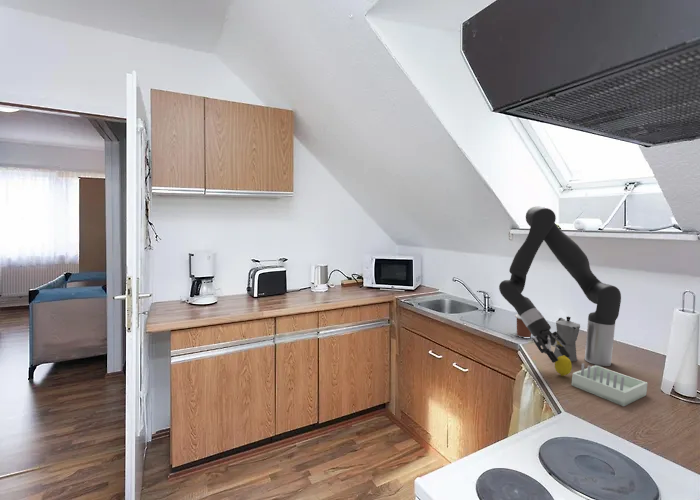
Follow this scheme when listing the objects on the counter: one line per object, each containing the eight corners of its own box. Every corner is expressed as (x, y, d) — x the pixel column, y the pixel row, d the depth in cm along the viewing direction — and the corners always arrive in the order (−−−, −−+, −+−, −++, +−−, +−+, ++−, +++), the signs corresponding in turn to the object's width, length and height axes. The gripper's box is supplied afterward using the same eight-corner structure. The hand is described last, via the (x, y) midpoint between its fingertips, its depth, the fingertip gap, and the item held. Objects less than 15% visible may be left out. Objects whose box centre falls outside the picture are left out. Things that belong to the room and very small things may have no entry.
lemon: (561, 379, 131) (563, 358, 130) (550, 373, 136) (552, 353, 136) (574, 378, 132) (576, 358, 131) (562, 372, 137) (564, 352, 137)
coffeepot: (584, 364, 146) (588, 321, 144) (559, 362, 147) (563, 320, 146) (567, 350, 161) (570, 312, 159) (545, 349, 162) (548, 310, 161)
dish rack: (594, 376, 134) (596, 355, 134) (646, 395, 121) (648, 372, 120) (571, 385, 126) (573, 363, 126) (623, 406, 113) (626, 381, 112)
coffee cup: (537, 338, 177) (539, 315, 176) (522, 339, 175) (524, 315, 174) (525, 333, 186) (526, 310, 184) (509, 333, 183) (511, 311, 182)
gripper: (531, 319, 136) (559, 358, 128) (551, 315, 144) (579, 352, 135) (517, 328, 141) (544, 367, 133) (538, 324, 149) (564, 360, 140)
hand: (562, 359), depth 134 cm, fingers open, 8 cm apart
